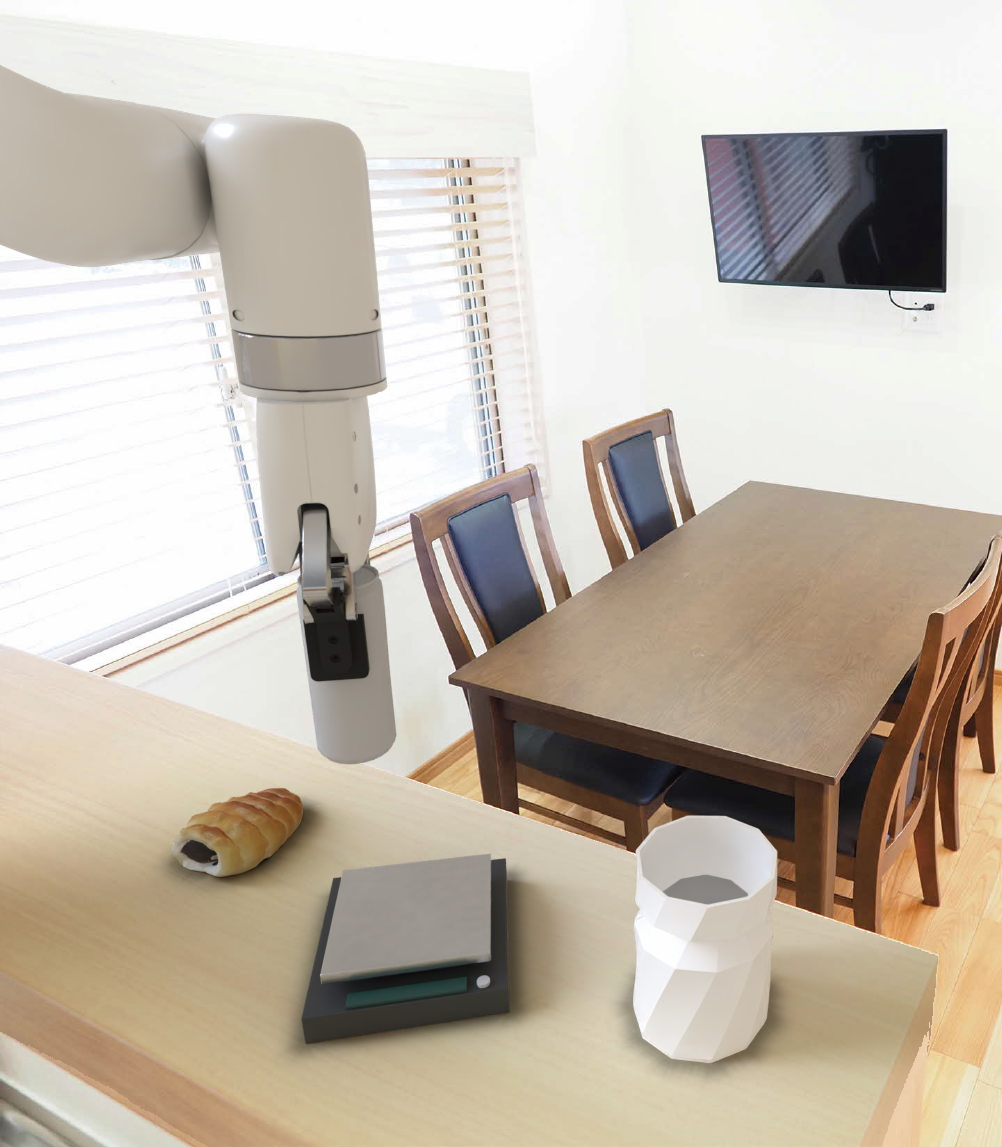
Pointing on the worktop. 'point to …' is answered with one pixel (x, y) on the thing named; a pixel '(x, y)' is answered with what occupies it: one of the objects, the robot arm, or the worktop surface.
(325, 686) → the beverage can
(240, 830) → the pastry
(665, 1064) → the worktop surface
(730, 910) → the vase
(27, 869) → the worktop surface
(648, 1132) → the worktop surface
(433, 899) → the scale pan
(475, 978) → the scale
